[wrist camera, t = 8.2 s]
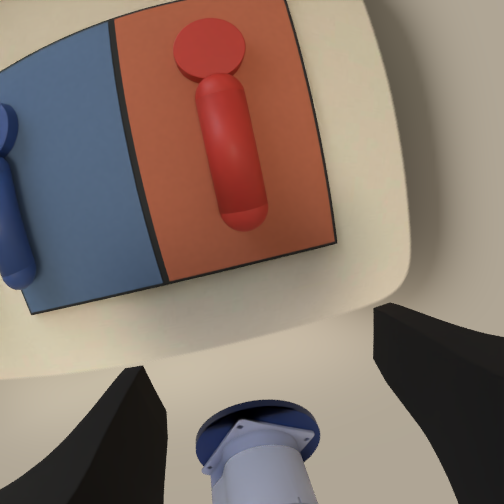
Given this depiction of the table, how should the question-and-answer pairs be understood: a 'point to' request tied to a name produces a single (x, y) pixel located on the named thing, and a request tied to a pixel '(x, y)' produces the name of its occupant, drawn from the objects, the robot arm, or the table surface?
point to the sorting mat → (156, 155)
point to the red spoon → (224, 118)
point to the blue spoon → (12, 214)
